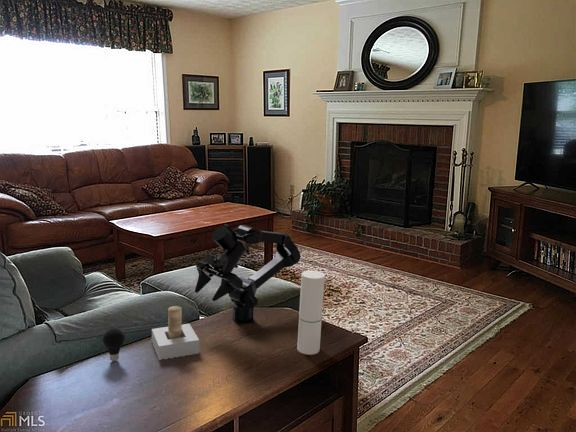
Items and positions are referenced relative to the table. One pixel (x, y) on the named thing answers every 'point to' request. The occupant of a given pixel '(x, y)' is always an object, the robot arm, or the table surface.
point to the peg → (174, 322)
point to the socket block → (175, 343)
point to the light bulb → (113, 342)
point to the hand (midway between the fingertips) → (204, 296)
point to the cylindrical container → (310, 312)
